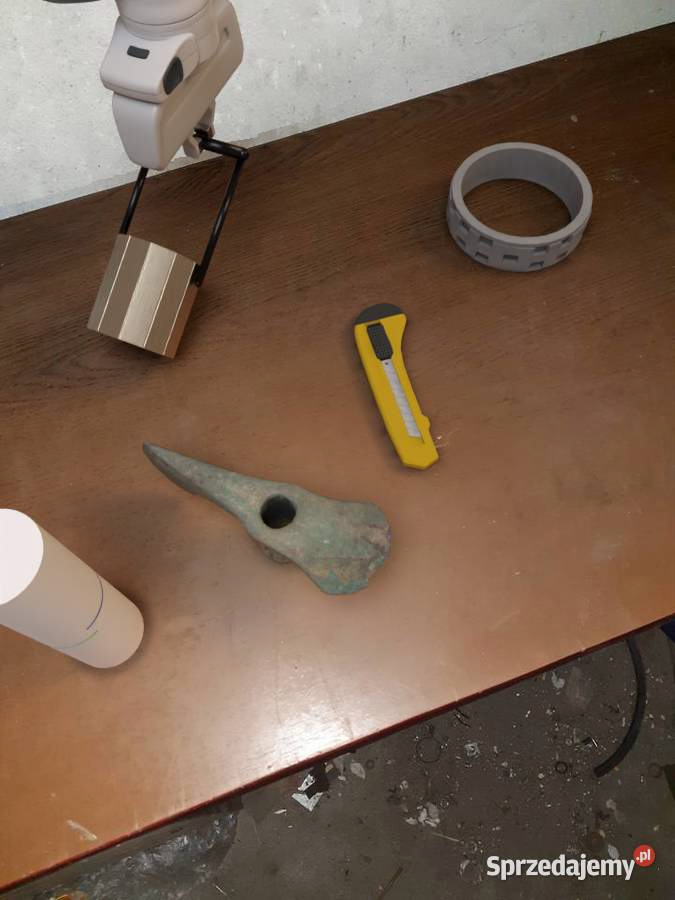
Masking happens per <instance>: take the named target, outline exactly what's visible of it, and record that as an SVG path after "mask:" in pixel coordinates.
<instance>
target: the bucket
mask: <svg viewBox="0 0 675 900" xmlns="http://www.w3.org/2000/svg"><path fill="white" fill-rule="evenodd" d="M192 136H193V137H194V138H195V137H197V138H201V139H202V142H203V147H204V150H203V151H207V152H211V153H213V154H218V155H221V156H225V157H228V158H231V159H235V160H236V161H235V165H234V167H233V170H232V172H231V175H230V178H229V181H228V184H227V187H226V190H225V193H224V196H223V198H222V201H221V205H220V207H219V209H218V213H217V215H216V216H217V217H216V219H215V222H214V225H213V227H212V230H211V234H210V236H209V239H208V241H207V245H206V247H205V251H204V254H203V257H202V258H201V259H202V260H201V261H200V264H199V263H197V262H196V261H194V260H192V259H190V258H188V257H187V256H184V255H182V254H180V253H178V252H176V251H173V250H172V249H170V248H166V247H164V246H161V245H160V244H157V243H155V242H151V241H148V240H146V239H142V238H139V237H136V236H133V235H130V234H128V232H129V229H130V226H131V223H132V220H133V217H134V215H135V212H136V209H137V205H138V203H139V200H140V197H141V194H142V190H143V188H144V186H145V182H146V180H147V176H148V173H149V170H150V169H148V168H145V167H142V166H140V169H139V172H138V174H137V177H136V181H135V183H134V186H133V189H132V192H131V195H130V198H129V201H128V204H127V207H126V210H125V213H124V215H123V219H122V221H121V224H120V226H119V230H118V233H117V235H116V239H115V242H114V245H113V248H112V250H111V253H110V257H109V260H108V262H107V266H106V268H105V271H104V275H103V277H102V280H101V283H100V286H99V288H98V292H97V295H96V298H95V301H94V304H93V307H92V310H91V313H90V315H89V318H88V322H87V324H86V329H88V330H91V331H94V332H96V333H99V334H103V335H105V336H107V337H111V338H113V339H116V340H119V341H122V342H125V343H127V344H130V345H133V346H136V347H138V348H141V349H144V350H147V351H150V352H153V353H155V354H158V355H161V356H163V357H165V358H169V359H171V360H174V359H175V355H176V353H177V351H178V347H179V345H180V343H181V339H182V336H183V333H184V330H185V326H186V324H187V321H188V318H189V315H190V312H191V310H192V308H193V304H194V301H195V298H196V296H197V292H198V289H200V288H201V287H202V286H203V283H204V281H205V278H206V275H207V272H208V269H209V266H210V263H211V261H212V258H213V255H214V252H215V249H216V246H217V244H218V240H219V237H220V235H221V233H222V229H223V226H224V223H225V220H226V218H227V214H228V212H229V209H230V206H231V203H232V200H233V197H234V194H235V192H236V189H237V186H238V183H239V180H240V176H241V174H242V171H243V169H244V165H245V163H246V161H247V160H249V158H250V151H249V149H248V148H246V147H243V146H240V145H237V144H233V143H229V142H226V141H223V140H220V139H216V138H209V137H205V136H202V135H198V134H196V133H195V132H194V134H193V135H192Z"/></svg>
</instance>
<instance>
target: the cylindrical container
mask: <svg viewBox="0 0 675 900" xmlns="http://www.w3.org/2000/svg"><path fill="white" fill-rule="evenodd" d="M0 625H1V626H3V627H6V628H9V629H10V630H13V631H14V632H17V633H19V634H21V635H23V636H25V637H27V638H29V639H32V640H34V641H36V642H39V643H41V644H42V645H45V646H47V647H49V648H51V649H54V650H55V651H58V652H60V653H62V654H65V655H67V656H69V657H71V658H73V659H74V660H78V661H79V662H82V663H84V664H86V665H89V666H91V667H93V668H98V669H109V668H114V667H116V666H119V665H121V664H123V663H124V662H126V661H127V660H129V659H130V658H131V657H132V656H133V655H134V654H135V652H136V651H137V650H138V648H139V647H140V644H141V643H142V640H143V636H144V630H145V626H144V625H145V623H144V618H143V615H142V613H141V611H140V609H139V608H138V607H137V605H135V603H133V602H132V601H131V600H130V599H129V598H128V597H126V595H124V594H123V593H122V592H121V591H119V590H118V589H116V588H115V586H113V585H112V584H111V583H109V582H108V581H107V580H106V579H105V578H103V577H102V576H101V575H100V574H99V573H97V572H96V571H95V570H94V569H93V568H92V567H91V566H89V565H88V564H86V563H85V562H84V561H83V560H82V559H80V558H79V557H78V556H77V555H76V554H75V553H73V552H72V551H71V550H70V549H68V547H66V546H65V545H64V544H62V543H61V542H60V541H59V540H57V539H56V538H55V537H54V536H53V535H52V534H51V533H49V532H48V531H46V530H45V528H43V527H42V526H40V524H38V523H37V522H36V521H35V520H34V519H32V518H31V517H29V516H28V515H26V514H25V513H23V512H21V511H18V510H17V509H16V510H15V509H11V508H0Z"/></svg>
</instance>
